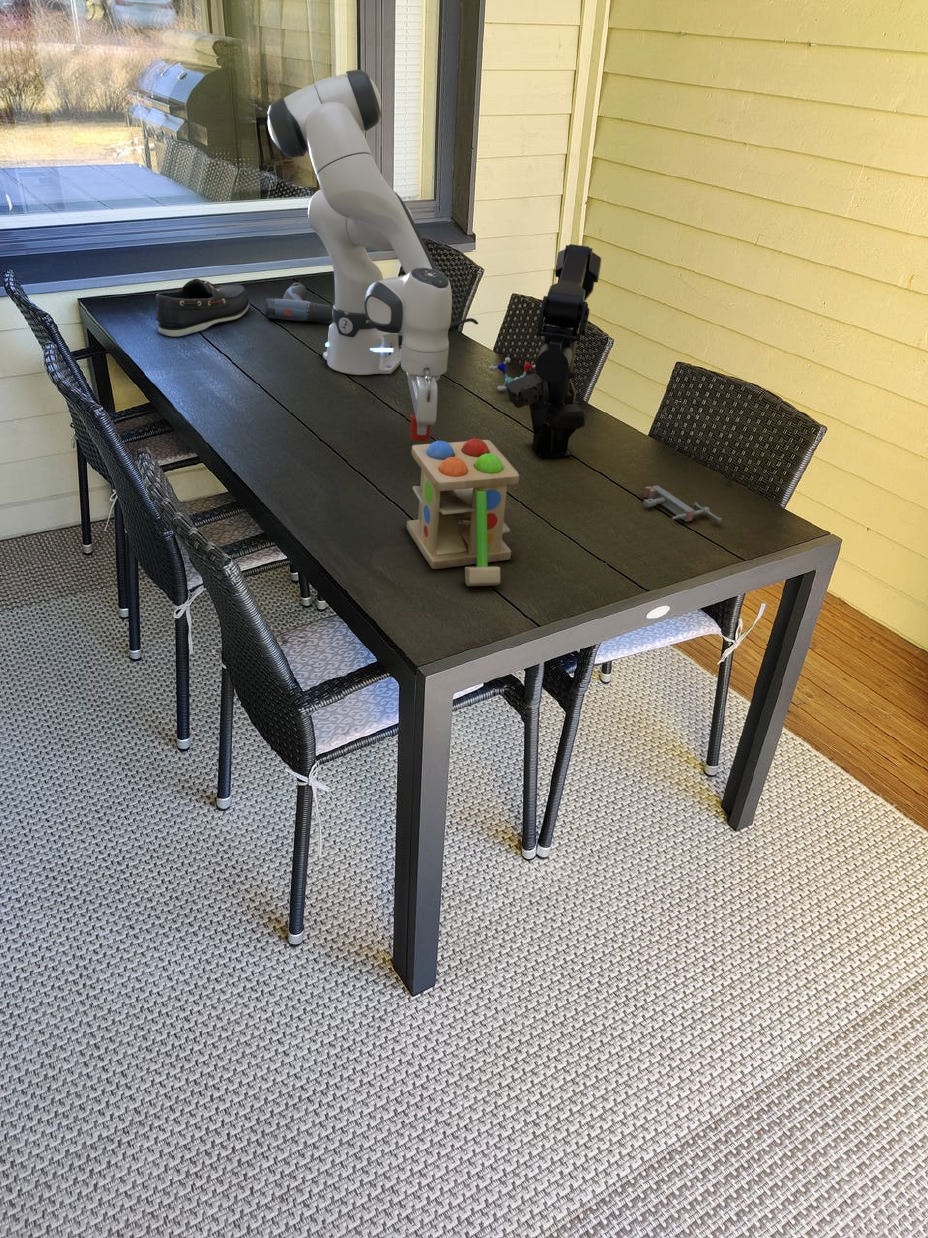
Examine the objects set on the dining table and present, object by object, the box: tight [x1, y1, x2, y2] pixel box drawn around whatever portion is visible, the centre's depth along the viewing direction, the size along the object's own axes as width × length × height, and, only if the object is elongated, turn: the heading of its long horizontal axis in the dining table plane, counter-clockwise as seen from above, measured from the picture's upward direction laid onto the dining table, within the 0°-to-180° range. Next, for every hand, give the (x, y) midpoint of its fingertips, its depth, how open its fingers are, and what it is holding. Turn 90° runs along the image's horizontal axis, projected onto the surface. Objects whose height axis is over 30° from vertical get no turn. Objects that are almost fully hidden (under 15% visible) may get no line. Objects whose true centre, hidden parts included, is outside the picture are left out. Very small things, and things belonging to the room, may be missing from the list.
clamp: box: [643, 484, 723, 524], centre depth 186 cm, size 15×2×10 cm
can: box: [409, 412, 432, 442], centre depth 193 cm, size 4×4×4 cm
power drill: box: [264, 282, 333, 322], centre depth 265 cm, size 5×19×20 cm
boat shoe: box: [155, 278, 250, 337], centre depth 253 cm, size 13×33×10 cm, turn 147°
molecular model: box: [489, 356, 535, 392], centre depth 228 cm, size 12×10×10 cm
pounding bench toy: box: [406, 438, 520, 587], centre depth 162 cm, size 23×14×18 cm, turn 20°
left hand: (420, 427), depth 193 cm, fingers closed on can, 4 cm apart
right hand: (545, 443), depth 184 cm, fingers open, 9 cm apart
